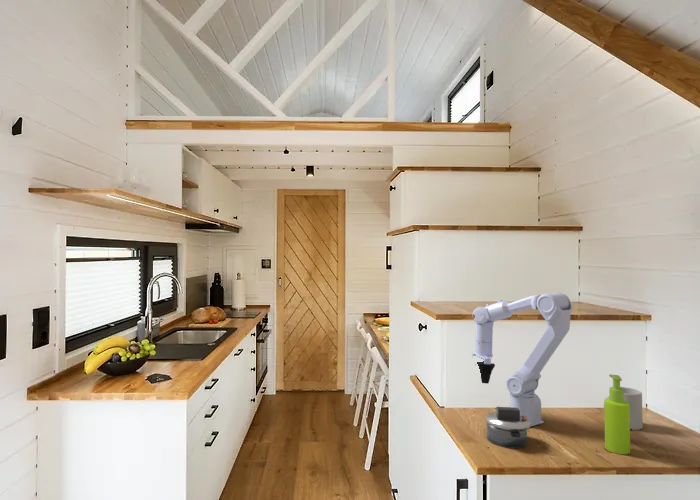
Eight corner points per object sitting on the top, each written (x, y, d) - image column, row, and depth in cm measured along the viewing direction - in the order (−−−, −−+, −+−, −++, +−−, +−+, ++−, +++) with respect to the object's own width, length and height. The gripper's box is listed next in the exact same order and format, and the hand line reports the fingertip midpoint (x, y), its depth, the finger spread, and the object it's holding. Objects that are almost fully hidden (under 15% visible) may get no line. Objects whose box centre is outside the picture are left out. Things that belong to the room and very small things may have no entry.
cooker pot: (479, 430, 129) (479, 414, 130) (515, 430, 130) (514, 413, 130) (497, 450, 115) (497, 431, 116) (536, 450, 116) (536, 431, 116)
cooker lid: (482, 414, 129) (482, 401, 130) (523, 416, 128) (523, 403, 128) (490, 429, 118) (490, 414, 118) (536, 431, 116) (536, 417, 116)
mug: (627, 419, 140) (626, 386, 141) (649, 429, 132) (649, 393, 132) (595, 421, 138) (594, 387, 139) (615, 431, 130) (615, 395, 130)
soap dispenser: (625, 445, 119) (624, 374, 120) (633, 455, 113) (631, 380, 114) (601, 442, 121) (600, 372, 122) (607, 452, 115) (606, 378, 116)
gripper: (468, 336, 156) (468, 373, 156) (475, 344, 142) (474, 385, 142) (488, 337, 156) (487, 374, 155) (497, 345, 141) (496, 386, 141)
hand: (483, 379), depth 149 cm, fingers open, 7 cm apart
